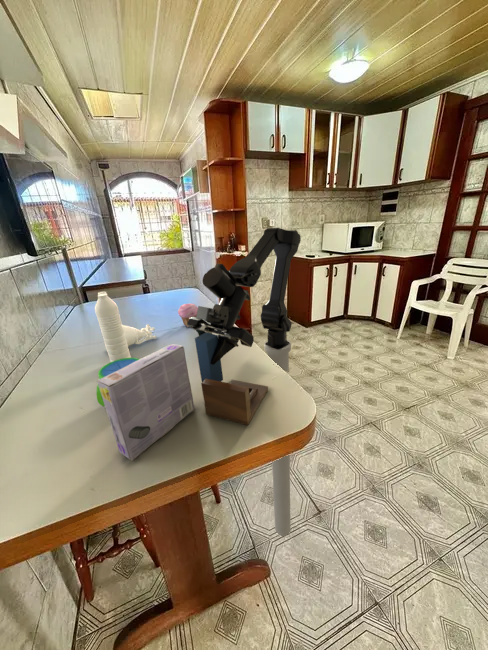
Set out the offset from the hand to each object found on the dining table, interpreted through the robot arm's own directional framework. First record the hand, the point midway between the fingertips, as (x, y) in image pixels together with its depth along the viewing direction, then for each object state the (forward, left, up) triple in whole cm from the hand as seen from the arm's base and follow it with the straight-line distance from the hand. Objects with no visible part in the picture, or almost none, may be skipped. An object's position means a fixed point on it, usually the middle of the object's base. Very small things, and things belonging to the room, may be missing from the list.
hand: (205, 361), depth 67 cm
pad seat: (-4, +7, -10) cm, 13 cm away
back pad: (-1, 0, -7) cm, 7 cm away
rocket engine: (+3, -48, -11) cm, 49 cm away
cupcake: (-23, -49, -11) cm, 55 cm away
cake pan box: (+14, +1, -11) cm, 18 cm away
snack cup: (+16, -15, -11) cm, 24 cm away
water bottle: (+11, -37, -11) cm, 40 cm away
